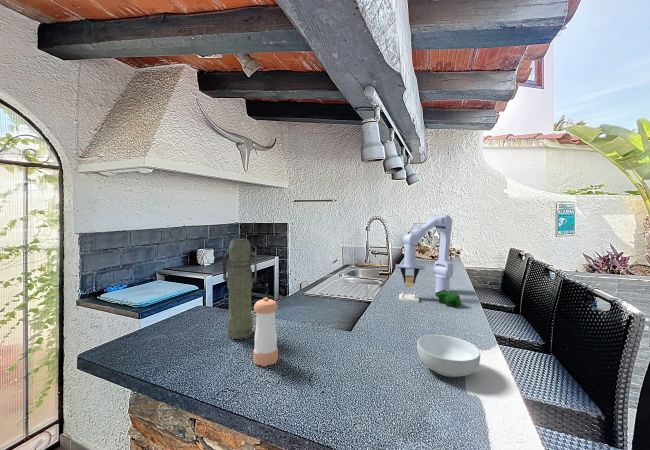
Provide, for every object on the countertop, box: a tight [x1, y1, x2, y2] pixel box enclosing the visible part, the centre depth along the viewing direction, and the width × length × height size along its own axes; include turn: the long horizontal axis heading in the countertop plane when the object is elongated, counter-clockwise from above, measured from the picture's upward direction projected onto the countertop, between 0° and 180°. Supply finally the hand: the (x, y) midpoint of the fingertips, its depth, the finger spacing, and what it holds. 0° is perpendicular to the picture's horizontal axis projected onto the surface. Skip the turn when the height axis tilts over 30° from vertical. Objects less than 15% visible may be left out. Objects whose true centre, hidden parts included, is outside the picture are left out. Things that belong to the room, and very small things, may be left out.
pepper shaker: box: [252, 297, 279, 367], centre depth 89 cm, size 7×7×19 cm
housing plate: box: [398, 290, 420, 303], centre depth 155 cm, size 10×10×3 cm
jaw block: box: [404, 274, 414, 288], centre depth 155 cm, size 4×4×5 cm
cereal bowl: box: [416, 334, 481, 378], centre depth 85 cm, size 17×17×7 cm
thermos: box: [222, 238, 258, 340], centre depth 108 cm, size 9×12×35 cm
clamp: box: [434, 290, 462, 308], centre depth 147 cm, size 12×6×9 cm, turn 11°
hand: (409, 282), depth 155 cm, fingers closed on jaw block, 4 cm apart
